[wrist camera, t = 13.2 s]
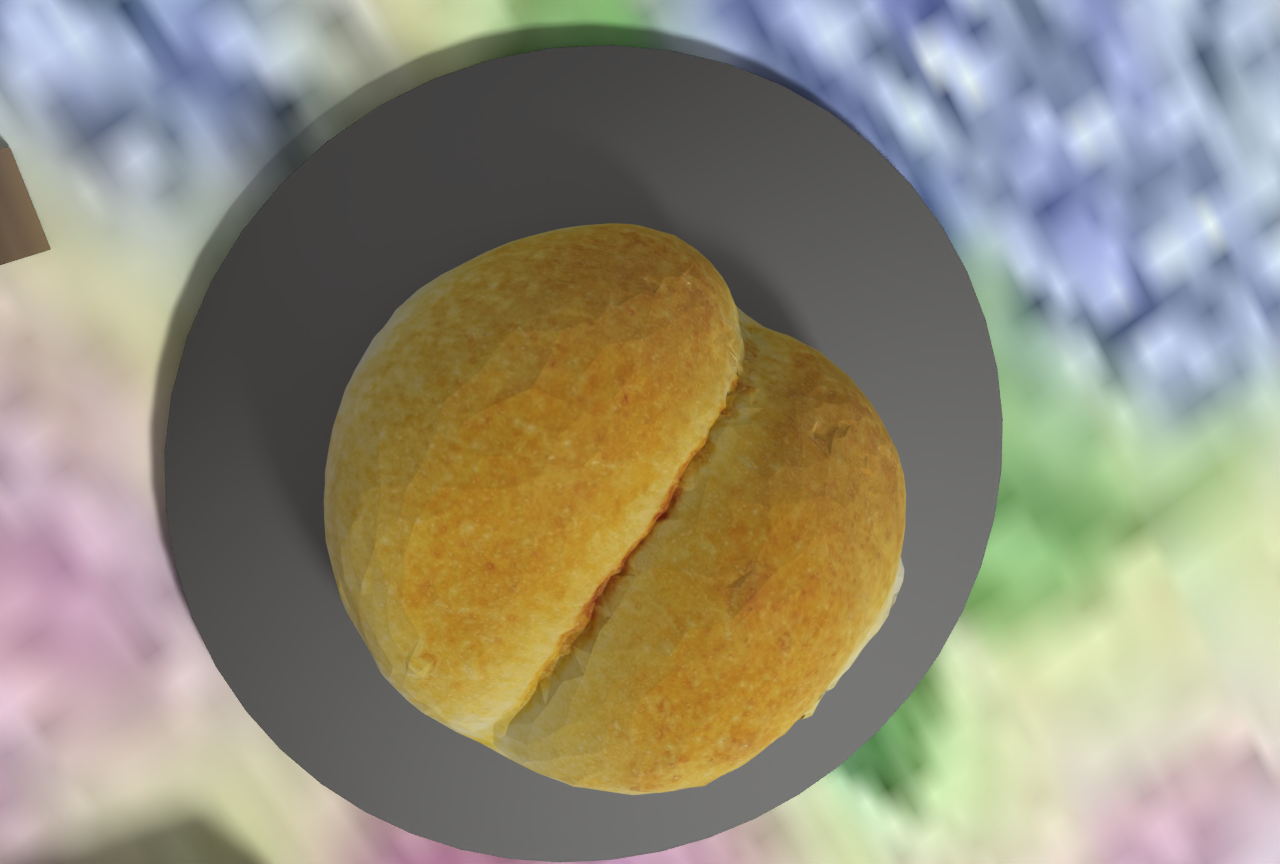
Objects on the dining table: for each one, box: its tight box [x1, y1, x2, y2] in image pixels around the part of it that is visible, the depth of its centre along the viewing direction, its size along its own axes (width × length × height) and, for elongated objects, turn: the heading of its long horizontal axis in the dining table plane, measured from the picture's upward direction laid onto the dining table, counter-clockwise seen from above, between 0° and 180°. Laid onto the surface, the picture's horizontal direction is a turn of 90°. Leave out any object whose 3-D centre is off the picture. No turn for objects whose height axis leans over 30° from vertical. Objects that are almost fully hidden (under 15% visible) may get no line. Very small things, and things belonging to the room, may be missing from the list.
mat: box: [165, 45, 1003, 862], centre depth 20 cm, size 14×14×1 cm
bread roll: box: [324, 223, 906, 795], centre depth 17 cm, size 8×9×4 cm
